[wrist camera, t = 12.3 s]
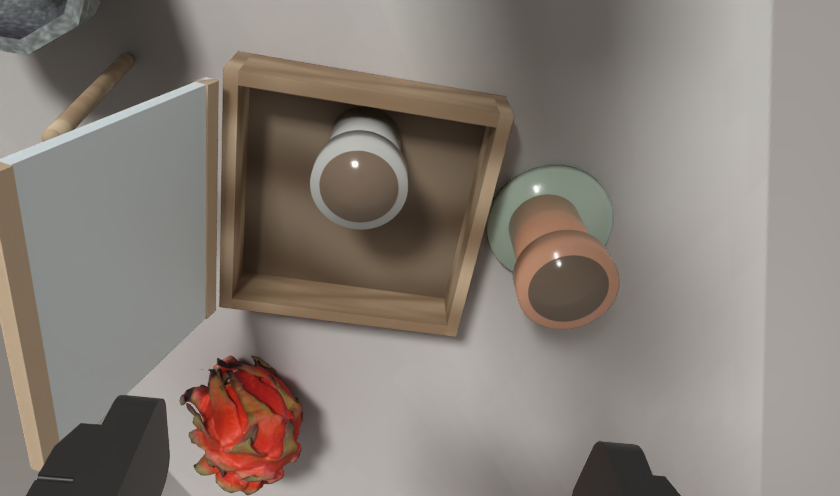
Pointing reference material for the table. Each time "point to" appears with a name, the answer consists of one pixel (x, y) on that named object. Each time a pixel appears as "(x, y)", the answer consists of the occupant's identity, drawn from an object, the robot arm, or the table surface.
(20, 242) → the lid
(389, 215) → the grey pot
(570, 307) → the terracotta pot
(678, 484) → the table surface
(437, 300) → the box
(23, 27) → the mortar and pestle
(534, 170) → the saucer
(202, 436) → the dragon fruit
